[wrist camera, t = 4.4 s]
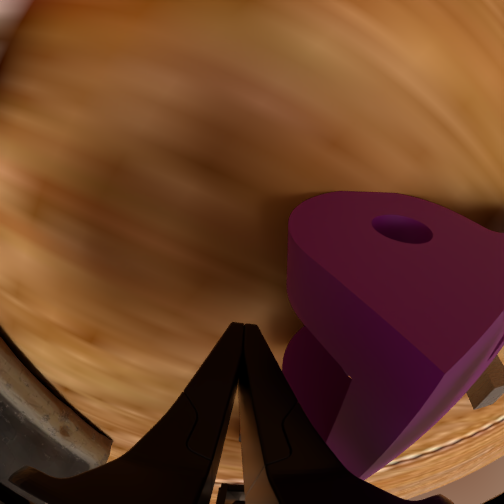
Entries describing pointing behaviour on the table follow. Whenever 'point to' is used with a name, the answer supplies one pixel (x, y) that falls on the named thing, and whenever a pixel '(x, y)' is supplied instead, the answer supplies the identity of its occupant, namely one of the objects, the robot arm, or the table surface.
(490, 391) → the stop blocks
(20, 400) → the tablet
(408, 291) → the mounting bracket
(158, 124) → the table surface
